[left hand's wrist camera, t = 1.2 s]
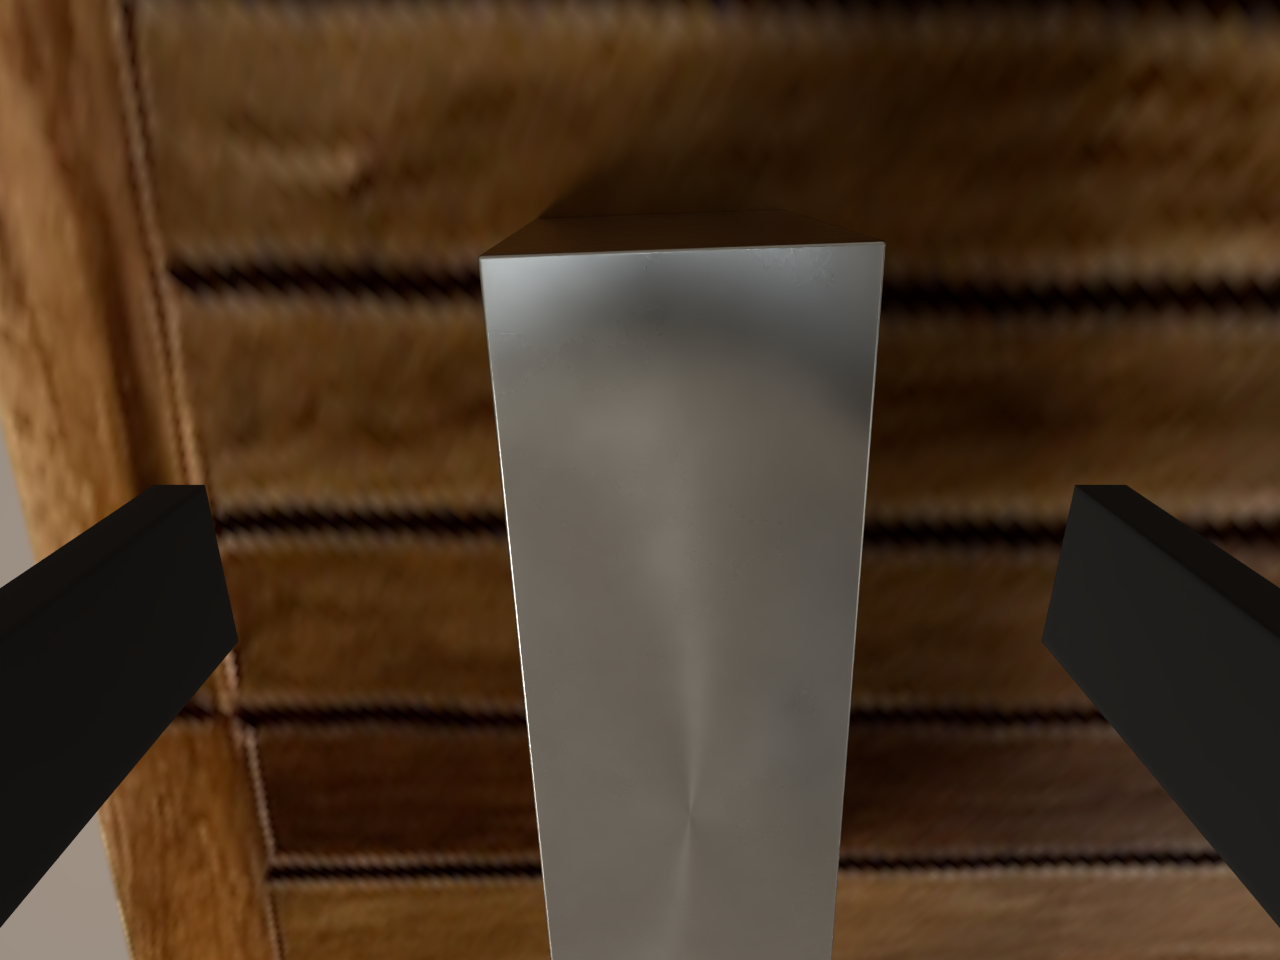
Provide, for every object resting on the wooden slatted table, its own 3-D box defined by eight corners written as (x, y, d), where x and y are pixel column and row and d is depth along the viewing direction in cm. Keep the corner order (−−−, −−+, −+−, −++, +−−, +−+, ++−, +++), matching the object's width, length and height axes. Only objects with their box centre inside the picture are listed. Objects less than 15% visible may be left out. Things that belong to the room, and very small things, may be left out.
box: (534, 218, 26) (476, 255, 16) (784, 209, 26) (887, 240, 16) (586, 882, 36) (571, 1161, 26) (763, 875, 36) (817, 1151, 26)
